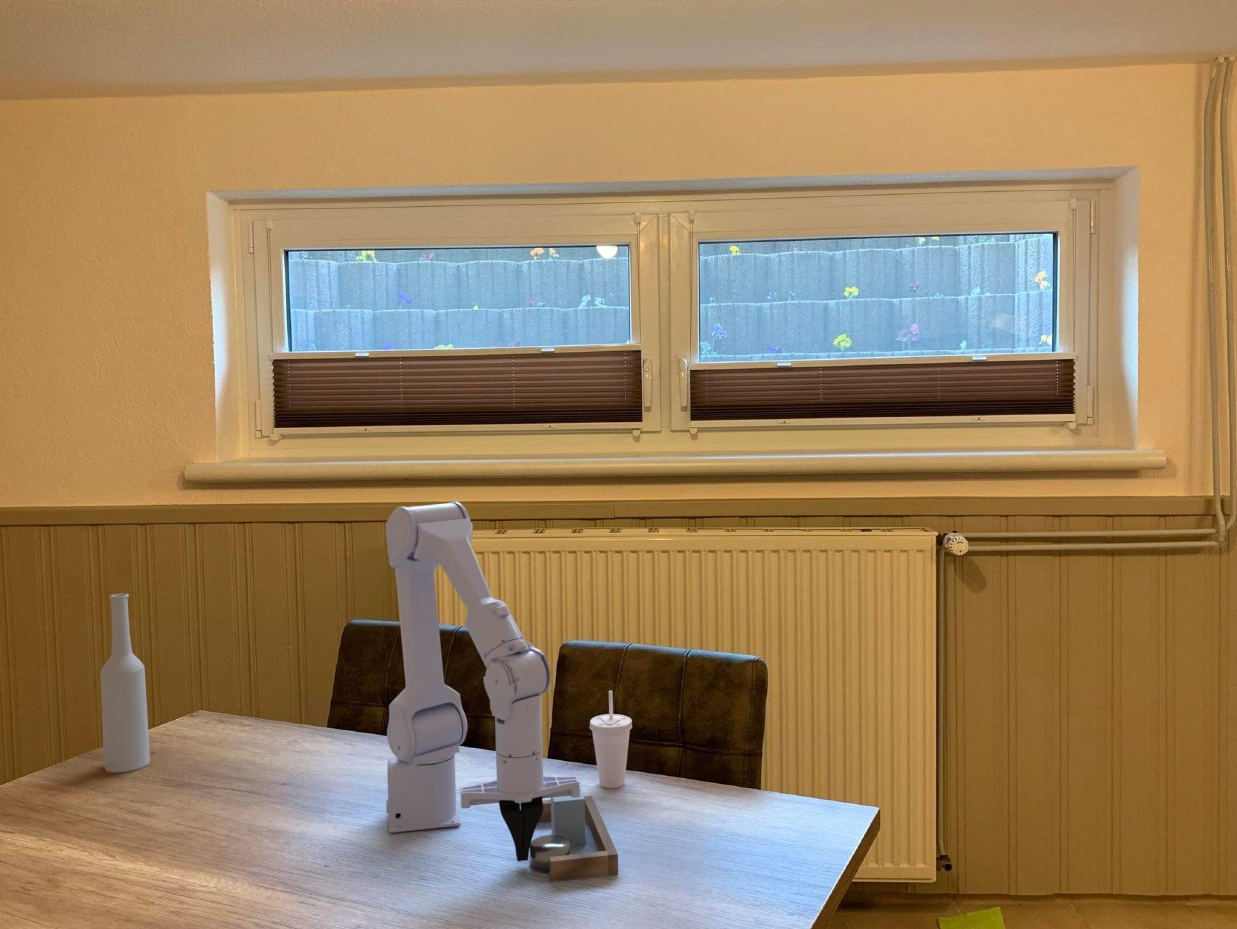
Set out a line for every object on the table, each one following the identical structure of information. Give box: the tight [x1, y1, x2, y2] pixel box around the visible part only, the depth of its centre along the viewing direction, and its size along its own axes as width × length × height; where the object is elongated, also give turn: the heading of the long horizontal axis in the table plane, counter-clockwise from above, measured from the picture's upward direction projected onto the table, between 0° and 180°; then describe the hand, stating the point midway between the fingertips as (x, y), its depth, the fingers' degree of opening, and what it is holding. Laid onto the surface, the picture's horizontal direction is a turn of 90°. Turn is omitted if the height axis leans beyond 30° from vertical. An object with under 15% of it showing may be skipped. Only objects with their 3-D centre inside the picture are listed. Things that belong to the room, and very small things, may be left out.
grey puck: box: [529, 834, 571, 874], centre depth 122 cm, size 5×5×2 cm
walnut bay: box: [538, 795, 619, 883], centre depth 127 cm, size 8×18×2 cm, turn 12°
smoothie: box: [589, 690, 633, 789], centre depth 147 cm, size 6×6×14 cm
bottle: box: [100, 593, 151, 774], centre depth 158 cm, size 7×7×28 cm
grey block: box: [550, 787, 587, 846], centre depth 129 cm, size 4×4×6 cm
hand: (522, 857), depth 121 cm, fingers closed
